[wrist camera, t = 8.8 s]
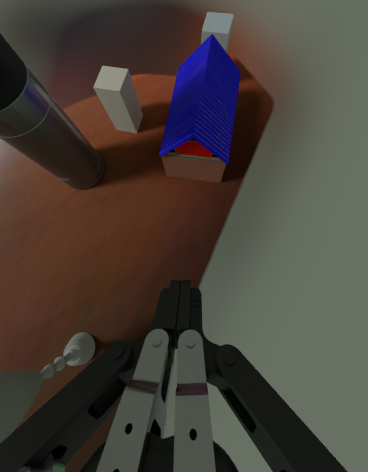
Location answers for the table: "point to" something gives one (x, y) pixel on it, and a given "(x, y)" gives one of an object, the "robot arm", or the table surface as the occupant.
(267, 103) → the table surface
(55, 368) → the chalice
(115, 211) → the table surface
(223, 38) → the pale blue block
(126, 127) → the cream block
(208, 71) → the house
